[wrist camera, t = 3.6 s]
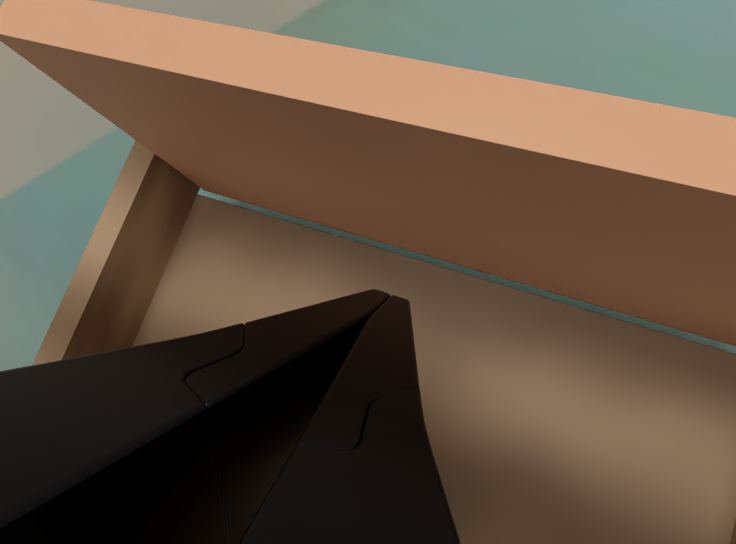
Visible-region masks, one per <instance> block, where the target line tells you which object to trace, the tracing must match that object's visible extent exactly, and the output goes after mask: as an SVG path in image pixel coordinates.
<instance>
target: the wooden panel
mask: <svg viewBox="0 0 736 544" xmlns="http://www.w3.org/2000/svg"><path fill="white" fill-rule="evenodd" d="M0 41H2V42H3V43H4V44H6V45H7V46H8V47H10V48H11V49H12V50H14V51H15V52H17V53H18V54H19V55H21V56H22V57H24V58H25V59H26V60H28V61H29V62H30V63H32V64H33V65H34V66H36V67H37V68H38V69H40V70H41V71H42V72H44V73H45V74H47V75H48V76H50V77H51V78H52V79H53V80H55V81H56V82H57V83H59V84H60V85H62V86H63V87H64V88H66V89H67V90H68V91H70V92H71V93H72V94H74V95H75V96H77V97H78V98H79V99H81V100H82V101H83V102H85V103H86V104H87V105H89V106H90V107H92V108H93V109H94V110H96V111H97V112H98V113H100V114H101V115H102V116H104V117H105V118H107V119H108V120H109V121H111V122H112V123H113V124H115V125H116V126H117V127H119V128H120V129H122V130H123V131H124V132H126V133H127V134H128V135H130V136H131V137H132V138H134V139H135V140H137V141H138V142H139V143H141V144H142V145H143V146H145V147H146V148H147V149H149V150H150V151H152V152H153V153H154V154H156V155H157V156H158V157H160V158H161V159H162V160H164V161H165V162H167V163H168V164H169V165H171V166H172V167H173V168H175V169H176V170H177V171H179V172H180V173H182V174H183V175H184V176H186V177H187V178H188V179H190V180H191V181H192V182H194V183H195V184H197V185H198V186H199V187H201V188H202V189H203V190H205V191H209V192H212V193H215V194H219V195H222V196H226V197H229V198H233V199H236V200H239V201H243V202H246V203H250V204H253V205H256V206H260V207H263V208H267V209H270V210H273V211H277V212H280V213H284V214H287V215H290V216H294V217H297V218H301V219H304V220H307V221H311V222H314V223H318V224H321V225H325V226H328V227H331V228H335V229H338V230H342V231H345V232H348V233H352V234H355V235H359V236H362V237H365V238H369V239H372V240H376V241H379V242H382V243H386V244H389V245H393V246H396V247H400V248H403V249H406V250H410V251H413V252H417V253H420V254H423V255H427V256H430V257H434V258H437V259H440V260H444V261H447V262H451V263H454V264H457V265H461V266H464V267H468V268H471V269H474V270H478V271H481V272H485V273H488V274H492V275H495V276H498V277H502V278H505V279H509V280H512V281H515V282H519V283H522V284H526V285H529V286H532V287H536V288H539V289H543V290H546V291H549V292H553V293H556V294H560V295H563V296H567V297H570V298H573V299H577V300H580V301H584V302H587V303H590V304H594V305H597V306H601V307H604V308H607V309H611V310H614V311H618V312H621V313H624V314H628V315H631V316H635V317H638V318H641V319H645V320H648V321H652V322H655V323H659V324H662V325H665V326H669V327H672V328H676V329H679V330H682V331H686V332H689V333H693V334H696V335H699V336H703V337H706V338H710V339H713V340H716V341H720V342H723V343H727V344H730V345H734V346H736V118H734V117H728V116H723V115H717V114H712V113H706V112H701V111H695V110H690V109H684V108H679V107H673V106H668V105H662V104H657V103H651V102H646V101H640V100H635V99H629V98H624V97H618V96H613V95H607V94H602V93H596V92H591V91H585V90H580V89H574V88H569V87H563V86H558V85H552V84H547V83H541V82H536V81H530V80H525V79H519V78H514V77H508V76H503V75H497V74H492V73H486V72H481V71H475V70H470V69H464V68H459V67H453V66H448V65H442V64H437V63H431V62H426V61H420V60H415V59H409V58H404V57H398V56H393V55H387V54H382V53H376V52H371V51H365V50H360V49H354V48H349V47H343V46H338V45H332V44H327V43H321V42H316V41H310V40H305V39H299V38H294V37H288V36H283V35H277V34H272V33H266V32H260V31H255V30H250V29H244V28H238V27H233V26H228V25H222V24H217V23H211V22H206V21H200V20H194V19H189V18H183V17H178V16H172V15H167V14H162V13H156V12H150V11H145V10H139V9H134V8H129V7H123V6H118V5H112V4H107V3H101V2H96V1H90V0H4V2H3V4H2V6H1V7H0Z"/></svg>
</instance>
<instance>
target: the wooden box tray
mask: <svg viewBox="0 0 736 544" xmlns="http://www.w3.org/2000/svg"><path fill="white" fill-rule="evenodd" d="M199 189H200V187H199V186H198V185H197V184H195V183H194V182H192V181H191V180H190V179H188V178H187V177H186V176H184V175H183V174H182V173H180V172H179V171H177V170H176V169H175V168H173V167H172V166H171V165H169V164H168V163H167V162H165V161H164V160H162V159H161V158H160V157H158V156H157V155H156V154H154V153H153V152H152V151H150V150H149V149H147V148H146V147H145V146H143V145H142V144H141V143H139V142H138V141H137V140H136V141H135V143H134V145H133V147H132V149H131V152H130V154H129V156H128V158H127V160H126V162H125V165H124V167H123V169H122V171H121V173H120V175H119V178H118V180H117V182H116V184H115V186H114V188H113V191H112V193H111V195H110V197H109V199H108V202H107V204H106V206H105V208H104V210H103V212H102V215H101V217H100V219H99V221H98V223H97V225H96V228H95V230H94V232H93V234H92V236H91V238H90V241H89V243H88V245H87V247H86V249H85V251H84V254H83V256H82V258H81V260H80V262H79V265H78V267H77V269H76V271H75V273H74V275H73V278H72V280H71V282H70V284H69V286H68V288H67V291H66V293H65V295H64V297H63V299H62V301H61V304H60V306H59V308H58V310H57V312H56V315H55V317H54V319H53V321H52V323H51V325H50V328H49V330H48V332H47V334H46V336H45V338H44V341H43V343H42V345H41V347H40V349H39V351H38V354H37V356H36V358H35V360H34V362H33V364H32V365H37V364H43V363H48V362H53V361H59V360H64V359H69V358H75V357H80V356H85V355H91V354H96V353H101V352H107V351H112V350H117V349H123V348H128V347H133V346H139V345H144V344H149V343H154V342H160V341H165V340H170V339H175V338H180V337H185V336H190V335H195V334H200V333H204V332H208V331H212V330H216V329H220V328H225V327H228V326H232V325H236V324H240V323H243V324H244V325H245V323H246V322H250V321H253V320H257V319H261V318H265V317H268V316H272V315H276V314H280V313H284V312H287V311H291V310H295V309H299V308H303V307H306V306H310V305H314V304H318V303H321V302H325V301H329V300H333V299H336V298H340V297H344V296H348V295H352V294H355V293H359V292H363V291H367V290H370V289H377V290H380V291H383V292H386V293H388V294H390V296H392V295H395V296H398V297H401V298H405V299H407V300H409V302H410V308H411V317H412V326H413V334H414V343H415V352H416V361H417V369H418V378H419V387H420V392H421V400H422V407H423V413H424V419H425V424H426V428H427V432H428V436H429V440H430V444H431V447H432V451H433V454H434V457H435V460H436V464H437V467H438V470H439V473H440V477H441V480H442V483H443V486H444V490H445V493H446V496H447V499H448V503H449V506H450V509H451V512H452V516H453V519H454V522H455V525H456V529H457V532H458V535H459V538H460V542H461V544H736V354H733V353H730V352H726V351H723V350H719V349H716V348H713V347H709V346H706V345H703V344H699V343H696V342H693V341H689V340H686V339H682V338H679V337H676V336H672V335H669V334H666V333H662V332H659V331H656V330H652V329H649V328H646V327H642V326H639V325H635V324H632V323H629V322H625V321H622V320H619V319H615V318H612V317H609V316H605V315H602V314H598V313H595V312H592V311H588V310H585V309H582V308H578V307H575V306H572V305H568V304H565V303H561V302H558V301H555V300H551V299H548V298H545V297H541V296H538V295H535V294H531V293H528V292H524V291H521V290H518V289H514V288H511V287H508V286H504V285H501V284H498V283H494V282H491V281H487V280H484V279H481V278H477V277H474V276H471V275H467V274H464V273H461V272H457V271H454V270H451V269H447V268H444V267H440V266H437V265H434V264H430V263H427V262H424V261H420V260H417V259H414V258H410V257H407V256H403V255H400V254H397V253H393V252H390V251H387V250H383V249H380V248H377V247H373V246H370V245H366V244H363V243H360V242H356V241H353V240H350V239H346V238H343V237H340V236H336V235H333V234H329V233H326V232H323V231H319V230H316V229H313V228H309V227H306V226H303V225H299V224H296V223H292V222H289V221H286V220H282V219H279V218H276V217H272V216H269V215H266V214H262V213H259V212H255V211H252V210H249V209H245V208H242V207H239V206H235V205H232V204H229V203H225V202H222V201H219V200H215V199H212V198H208V197H205V196H202V195H198V191H199Z"/></svg>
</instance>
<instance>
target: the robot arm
mask: <svg viewBox="0 0 736 544" xmlns="http://www.w3.org/2000/svg"><path fill="white" fill-rule="evenodd" d="M0 544H461V542H460V538H459V535H458V532H457V529H456V525H455V522H454V519H453V516H452V512H451V509H450V506H449V503H448V499H447V496H446V493H445V490H444V486H443V483H442V480H441V477H440V473H439V470H438V467H437V464H436V460H435V457H434V454H433V451H432V447H431V444H430V440H429V436H428V432H427V428H426V424H425V419H424V413H423V407H422V400H421V392H420V387H419V378H418V369H417V361H416V352H415V343H414V334H413V326H412V317H411V308H410V302H409V300H407V299H405V298H401V297H398V296H395V295H392V296H390V294H388V293H386V292H383V291H380V290H377V289H370V290H367V291H363V292H359V293H355V294H352V295H348V296H344V297H340V298H336V299H333V300H329V301H325V302H321V303H318V304H314V305H310V306H306V307H303V308H299V309H295V310H291V311H287V312H284V313H280V314H276V315H272V316H268V317H265V318H261V319H257V320H253V321H250V322H246V323H245V325H244V324H243V323H240V324H236V325H232V326H228V327H225V328H220V329H216V330H212V331H208V332H204V333H200V334H195V335H190V336H185V337H180V338H175V339H170V340H165V341H160V342H154V343H149V344H144V345H139V346H133V347H128V348H123V349H117V350H112V351H107V352H101V353H96V354H91V355H85V356H80V357H75V358H69V359H64V360H59V361H53V362H48V363H43V364H37V365H32V366H27V367H22V368H16V369H11V370H6V371H0Z"/></svg>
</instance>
